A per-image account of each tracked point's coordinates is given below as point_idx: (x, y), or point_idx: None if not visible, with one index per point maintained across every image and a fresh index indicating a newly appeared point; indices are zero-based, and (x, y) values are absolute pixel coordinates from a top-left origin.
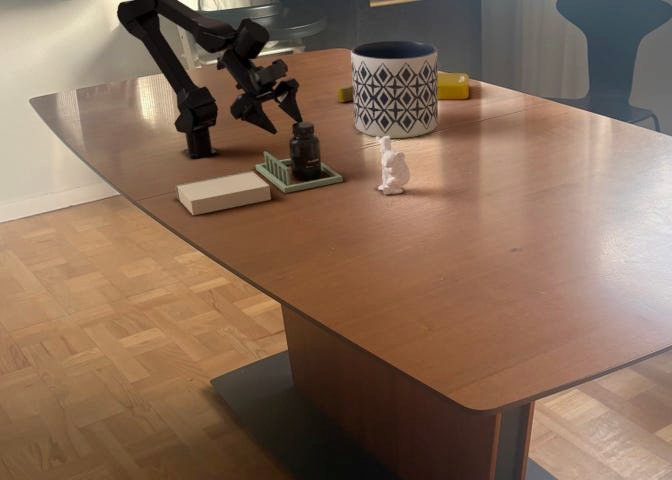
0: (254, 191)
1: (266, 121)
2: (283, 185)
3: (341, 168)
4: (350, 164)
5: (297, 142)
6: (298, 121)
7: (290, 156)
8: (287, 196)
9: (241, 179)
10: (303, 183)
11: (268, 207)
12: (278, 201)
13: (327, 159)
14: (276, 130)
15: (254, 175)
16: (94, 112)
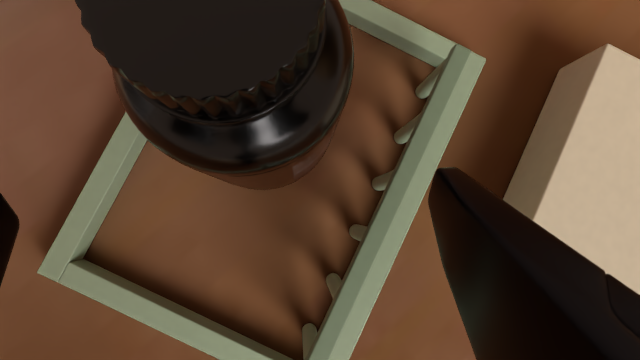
0: None
1: (582, 259)
2: (466, 83)
3: (87, 53)
4: (14, 50)
5: (343, 25)
6: (1, 241)
7: (324, 147)
8: (494, 36)
9: (630, 217)
10: (396, 23)
11: (619, 24)
12: (554, 32)
13: (8, 196)
14: (445, 172)
15: (552, 203)
16: None
